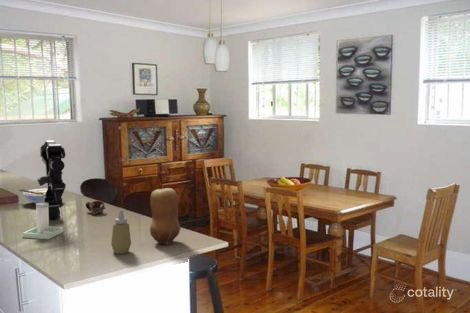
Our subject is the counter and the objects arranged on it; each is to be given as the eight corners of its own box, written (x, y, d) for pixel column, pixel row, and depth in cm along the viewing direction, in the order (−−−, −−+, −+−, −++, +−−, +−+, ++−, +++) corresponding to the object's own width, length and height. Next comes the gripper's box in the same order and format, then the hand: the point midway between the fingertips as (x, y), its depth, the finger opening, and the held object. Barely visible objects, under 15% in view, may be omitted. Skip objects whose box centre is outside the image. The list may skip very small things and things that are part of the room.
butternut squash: (153, 238, 208) (153, 185, 205) (182, 239, 207) (183, 186, 204) (146, 247, 194) (147, 190, 191) (177, 248, 193) (178, 191, 191)
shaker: (33, 234, 207) (33, 204, 206) (43, 231, 212) (42, 202, 211) (42, 235, 205) (41, 205, 203) (51, 232, 210) (51, 203, 208)
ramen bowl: (72, 203, 276) (72, 190, 275) (39, 209, 257) (39, 195, 256) (47, 198, 289) (47, 185, 288) (14, 204, 270) (13, 190, 269)
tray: (22, 238, 202) (22, 232, 202) (39, 231, 214) (38, 225, 214) (48, 240, 200) (48, 234, 200) (63, 232, 213) (63, 227, 212)
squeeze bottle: (113, 249, 191) (112, 207, 189) (132, 249, 191) (132, 207, 189) (109, 255, 183) (109, 212, 181) (129, 255, 183) (129, 212, 181)
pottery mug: (108, 212, 258) (108, 201, 253) (100, 222, 250) (100, 212, 245) (89, 205, 259) (89, 195, 254) (80, 216, 251) (80, 205, 247)
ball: (40, 237, 202) (40, 230, 202) (45, 235, 205) (44, 228, 205) (47, 238, 201) (47, 231, 201) (51, 236, 205) (51, 229, 204)
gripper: (35, 169, 225) (36, 199, 227) (40, 172, 209) (41, 205, 211) (59, 167, 231) (60, 197, 232) (65, 171, 215) (66, 203, 216)
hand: (56, 200), depth 223 cm, fingers open, 9 cm apart
